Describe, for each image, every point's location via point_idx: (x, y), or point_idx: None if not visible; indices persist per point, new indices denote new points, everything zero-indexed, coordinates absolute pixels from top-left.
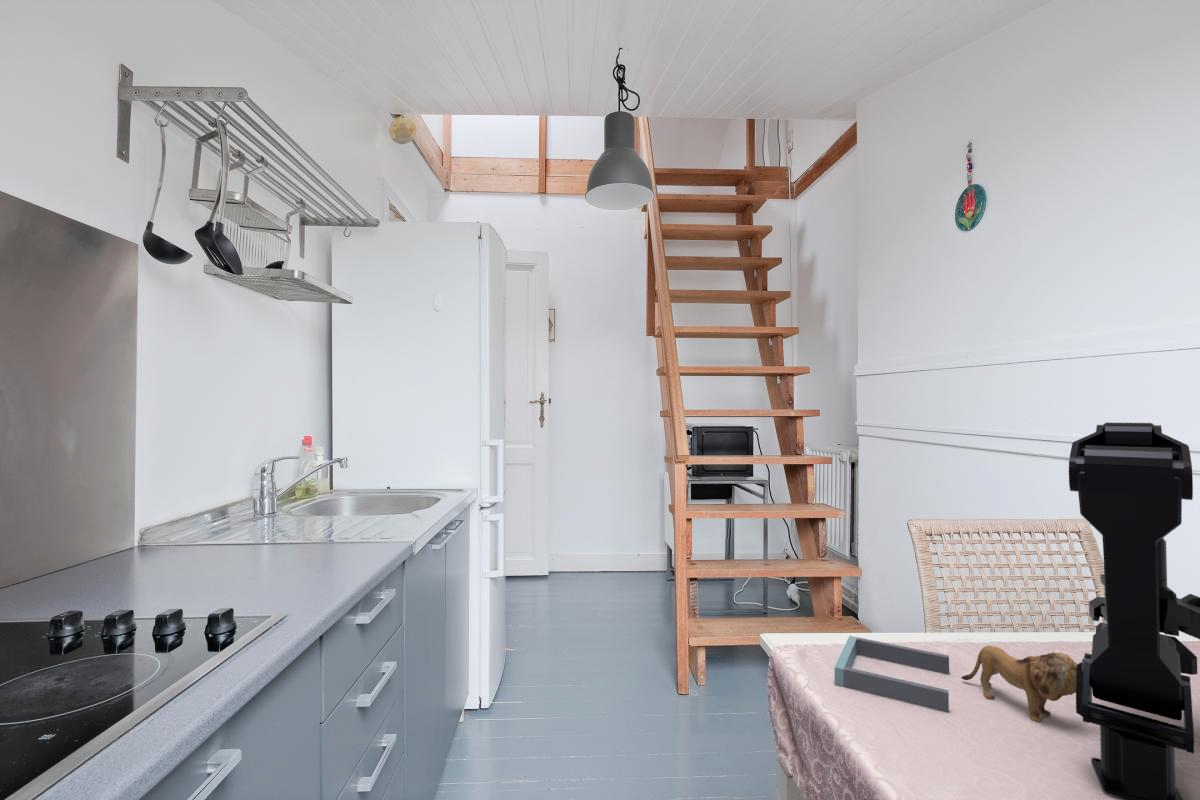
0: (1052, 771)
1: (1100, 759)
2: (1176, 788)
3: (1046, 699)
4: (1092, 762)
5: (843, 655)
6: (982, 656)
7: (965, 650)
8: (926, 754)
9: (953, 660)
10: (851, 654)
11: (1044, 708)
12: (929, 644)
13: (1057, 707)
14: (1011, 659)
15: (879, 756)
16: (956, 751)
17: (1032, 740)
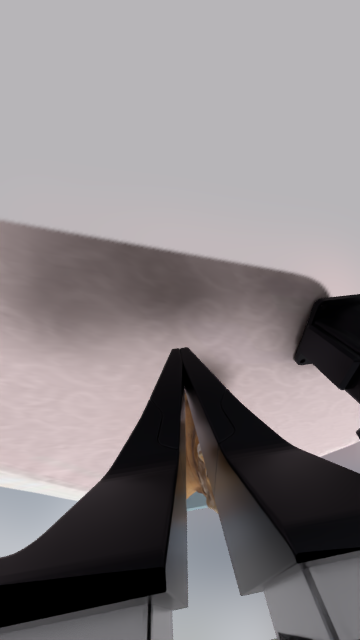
0: (321, 382)
1: (298, 358)
2: (348, 298)
3: (191, 414)
4: (306, 363)
5: (204, 507)
6: None
7: (34, 463)
8: (319, 435)
9: (88, 462)
10: (187, 503)
11: (187, 403)
12: (57, 480)
13: (151, 388)
14: (193, 492)
15: (330, 447)
16: (308, 426)
17: (263, 397)
